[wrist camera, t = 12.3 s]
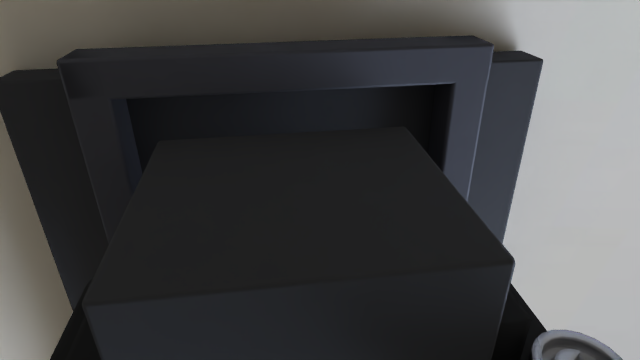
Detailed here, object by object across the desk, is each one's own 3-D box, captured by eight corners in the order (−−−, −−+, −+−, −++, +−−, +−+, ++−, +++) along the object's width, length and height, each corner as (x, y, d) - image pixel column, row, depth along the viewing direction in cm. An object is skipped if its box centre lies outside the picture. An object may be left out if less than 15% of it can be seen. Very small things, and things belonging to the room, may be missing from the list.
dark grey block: (157, 139, 9) (78, 303, 5) (405, 125, 9) (519, 260, 5) (200, 353, 12) (171, 566, 8) (387, 332, 12) (452, 521, 8)
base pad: (2, 42, 10) (-55, 64, 8) (527, 25, 11) (579, 40, 9) (149, 479, 17) (137, 539, 16) (444, 438, 19) (464, 489, 17)
